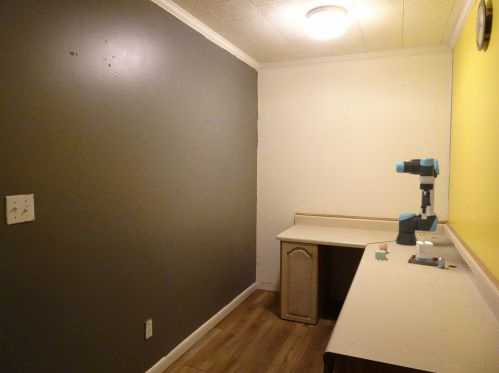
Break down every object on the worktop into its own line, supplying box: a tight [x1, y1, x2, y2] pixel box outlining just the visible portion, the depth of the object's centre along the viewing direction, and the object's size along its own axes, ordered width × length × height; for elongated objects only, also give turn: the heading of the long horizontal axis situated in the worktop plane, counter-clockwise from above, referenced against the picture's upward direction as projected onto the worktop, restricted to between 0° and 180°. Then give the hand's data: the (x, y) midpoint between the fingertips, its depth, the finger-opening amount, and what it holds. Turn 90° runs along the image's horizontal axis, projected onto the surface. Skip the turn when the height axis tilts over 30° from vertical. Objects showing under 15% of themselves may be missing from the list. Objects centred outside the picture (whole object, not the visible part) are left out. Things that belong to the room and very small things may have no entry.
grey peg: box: [437, 256, 446, 270], centre depth 210 cm, size 4×4×6 cm
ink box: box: [415, 238, 434, 263], centre depth 223 cm, size 9×8×13 cm
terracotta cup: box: [379, 242, 388, 255], centre depth 246 cm, size 5×5×6 cm
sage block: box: [374, 249, 387, 261], centre depth 231 cm, size 6×6×5 cm
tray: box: [407, 254, 438, 268], centre depth 223 cm, size 15×16×2 cm
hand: (425, 217), depth 221 cm, fingers open, 13 cm apart
